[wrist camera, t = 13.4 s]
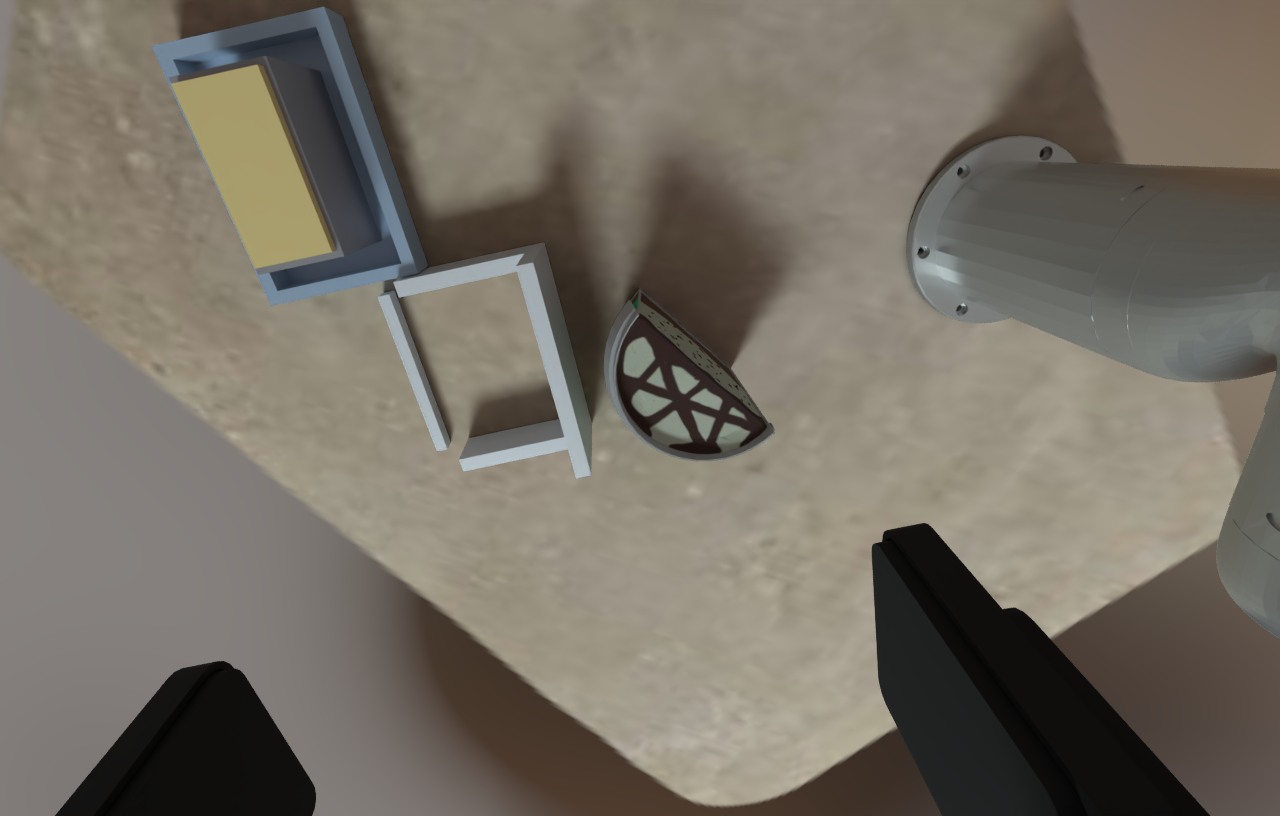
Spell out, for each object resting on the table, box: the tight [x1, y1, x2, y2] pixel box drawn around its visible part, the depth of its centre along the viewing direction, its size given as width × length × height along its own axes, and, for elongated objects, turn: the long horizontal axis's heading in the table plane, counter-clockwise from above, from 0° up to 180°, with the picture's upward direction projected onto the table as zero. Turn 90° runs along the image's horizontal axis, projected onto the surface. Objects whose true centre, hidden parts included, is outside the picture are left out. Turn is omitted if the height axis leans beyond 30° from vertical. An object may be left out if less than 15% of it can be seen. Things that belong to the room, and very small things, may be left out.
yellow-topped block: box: [169, 56, 382, 275], centre depth 35 cm, size 5×10×7 cm, turn 11°
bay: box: [378, 242, 592, 478], centre depth 40 cm, size 12×14×8 cm
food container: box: [604, 288, 775, 461], centre depth 40 cm, size 12×6×10 cm, turn 48°
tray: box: [152, 7, 428, 306], centre depth 37 cm, size 10×15×3 cm, turn 11°
